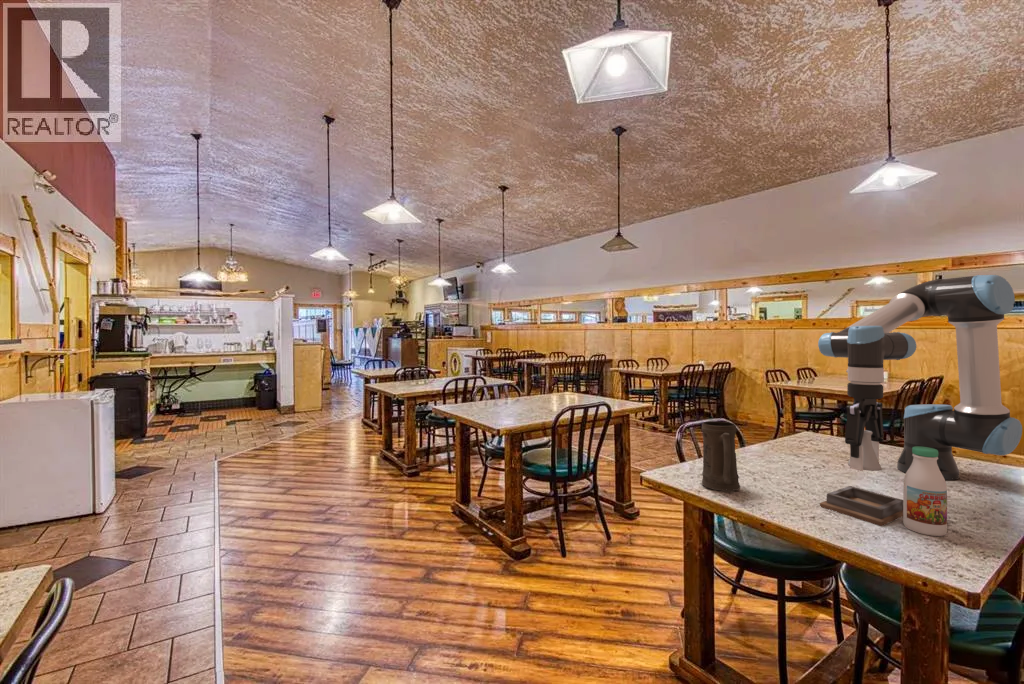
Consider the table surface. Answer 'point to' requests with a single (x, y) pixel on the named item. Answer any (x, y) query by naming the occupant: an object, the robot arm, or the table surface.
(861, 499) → the rectangular tray
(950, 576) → the table surface
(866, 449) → the flask
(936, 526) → the milk bottle
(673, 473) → the table surface
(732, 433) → the beer stein
